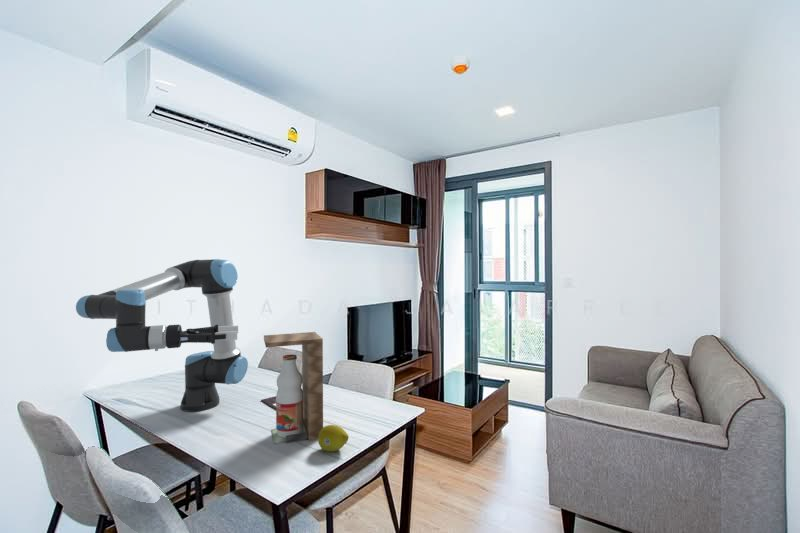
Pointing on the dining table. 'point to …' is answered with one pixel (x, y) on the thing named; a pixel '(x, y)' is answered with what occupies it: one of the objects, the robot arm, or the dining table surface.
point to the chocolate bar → (270, 402)
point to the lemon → (332, 438)
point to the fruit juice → (289, 399)
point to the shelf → (305, 382)
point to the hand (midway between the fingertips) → (237, 332)
